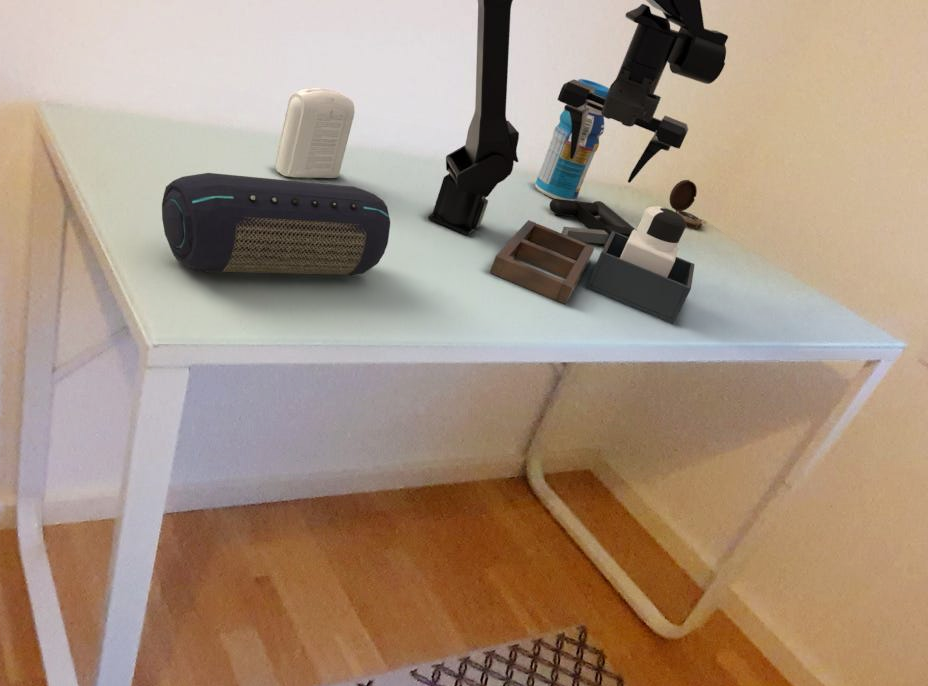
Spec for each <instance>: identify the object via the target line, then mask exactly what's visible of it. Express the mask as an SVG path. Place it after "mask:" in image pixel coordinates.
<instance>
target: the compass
mask: <svg viewBox="0 0 928 686" xmlns="http://www.w3.org/2000/svg"><path fill="white" fill-rule="evenodd" d="M697 191H698V188H697V186H696V183H694V181H691V180H690V179H683V180H681V181H679V182H678V183H676V184H675V185H674V186H673V188H672V190H671V191H670V194H669V199H668V200H669V205H670V207H671V208H672V209H673V210H675V212H676V213H678V214H679V215H681V216H682V217H683V219H684V220H685V221H686V224H687V226H686V227H688V228H690V229H695V230H696V229H697V230H699V229H701V228H702V226H703V224H707V221H706V220H704V219H701V218H699V217H697V216H696V215H695V214H693V213H690V212H687V210H688V209H689V208H690V207H691V206H692V205H693V203H694V202H695V200H696V199H695V198H696V197H697V194H698V192H697Z"/></svg>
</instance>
